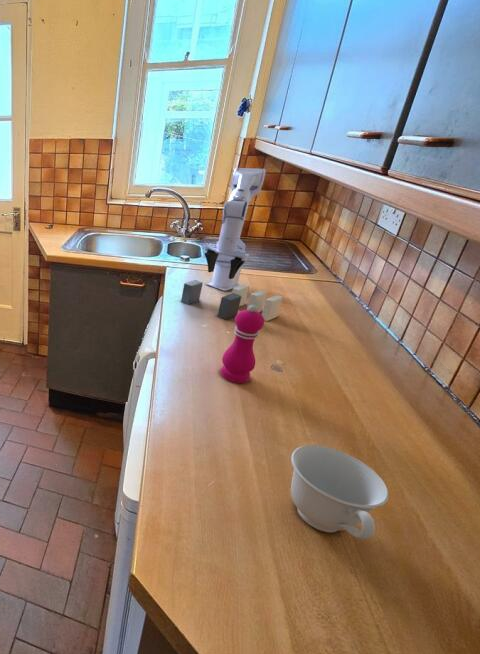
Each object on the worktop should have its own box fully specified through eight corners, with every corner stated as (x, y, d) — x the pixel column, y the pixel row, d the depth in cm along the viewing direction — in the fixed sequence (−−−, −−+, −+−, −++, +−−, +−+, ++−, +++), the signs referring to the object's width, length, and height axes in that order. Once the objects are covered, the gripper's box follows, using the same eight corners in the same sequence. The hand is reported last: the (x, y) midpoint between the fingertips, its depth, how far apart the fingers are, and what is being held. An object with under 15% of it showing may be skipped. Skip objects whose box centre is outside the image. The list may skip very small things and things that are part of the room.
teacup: (303, 563, 60) (325, 518, 56) (263, 482, 74) (278, 440, 69) (396, 577, 58) (426, 531, 54) (338, 491, 71) (358, 449, 67)
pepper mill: (253, 386, 99) (275, 313, 91) (220, 381, 101) (239, 309, 93) (247, 370, 105) (267, 300, 97) (216, 366, 107) (233, 297, 99)
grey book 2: (228, 312, 136) (232, 292, 133) (236, 315, 134) (241, 296, 131) (217, 316, 133) (221, 296, 130) (225, 319, 131) (230, 300, 128)
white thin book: (238, 302, 142) (243, 284, 139) (244, 304, 141) (249, 286, 138) (228, 306, 140) (233, 287, 137) (234, 308, 138) (238, 289, 135)
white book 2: (271, 314, 134) (276, 295, 131) (277, 316, 132) (283, 297, 129) (260, 318, 131) (266, 299, 128) (266, 321, 130) (272, 301, 127)
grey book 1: (191, 297, 147) (195, 279, 144) (199, 300, 145) (202, 282, 142) (180, 301, 144) (184, 283, 141) (188, 304, 142) (191, 286, 139)
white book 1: (255, 308, 138) (261, 289, 135) (261, 311, 136) (267, 291, 133) (245, 313, 135) (250, 293, 132) (251, 315, 134) (256, 295, 131)
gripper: (202, 234, 140) (195, 271, 145) (243, 244, 128) (234, 283, 134) (214, 231, 143) (207, 267, 149) (256, 240, 131) (246, 279, 137)
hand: (220, 274), depth 142 cm, fingers open, 7 cm apart
